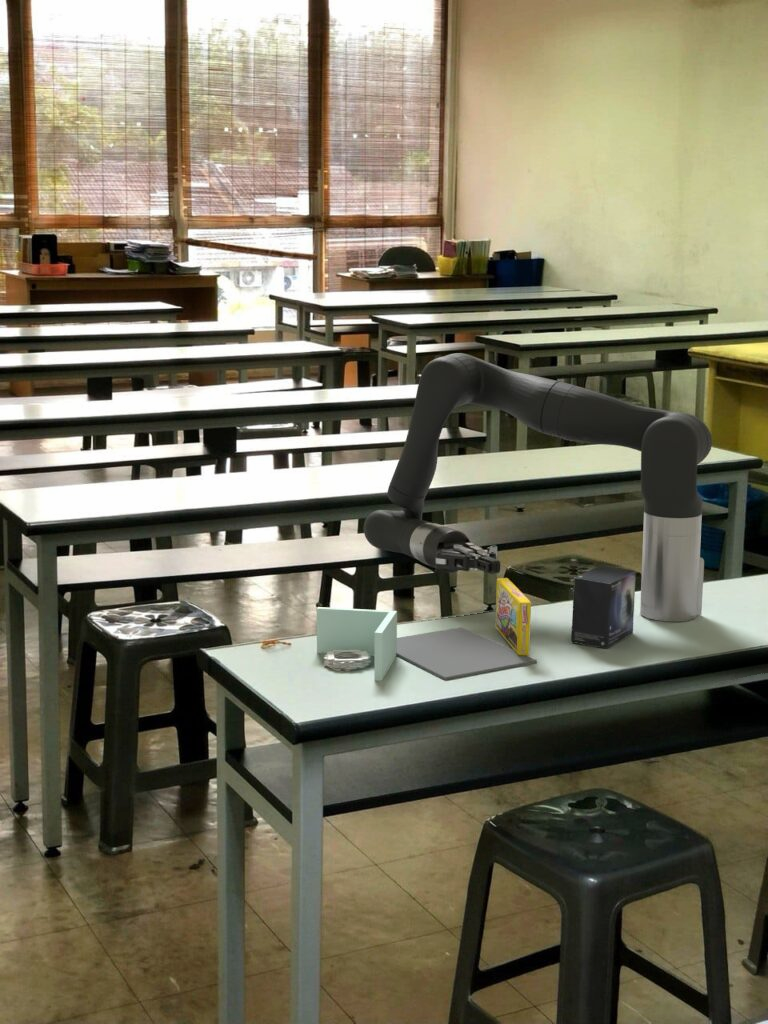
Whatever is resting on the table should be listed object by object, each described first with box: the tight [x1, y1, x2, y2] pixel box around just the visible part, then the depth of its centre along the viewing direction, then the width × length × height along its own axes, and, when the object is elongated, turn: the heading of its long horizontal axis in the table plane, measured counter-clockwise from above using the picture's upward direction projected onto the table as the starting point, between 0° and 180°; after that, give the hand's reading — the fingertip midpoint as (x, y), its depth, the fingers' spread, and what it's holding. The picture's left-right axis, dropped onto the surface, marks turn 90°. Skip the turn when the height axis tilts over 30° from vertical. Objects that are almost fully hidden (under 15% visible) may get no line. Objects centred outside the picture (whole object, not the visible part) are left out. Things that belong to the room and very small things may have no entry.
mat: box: [396, 627, 538, 681], centre depth 199 cm, size 16×20×1 cm
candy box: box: [495, 577, 532, 656], centre depth 203 cm, size 16×2×8 cm, turn 7°
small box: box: [570, 564, 637, 649], centre depth 206 cm, size 11×6×10 cm, turn 147°
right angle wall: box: [316, 606, 398, 682], centre depth 192 cm, size 12×12×8 cm
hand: (496, 567), depth 219 cm, fingers closed
